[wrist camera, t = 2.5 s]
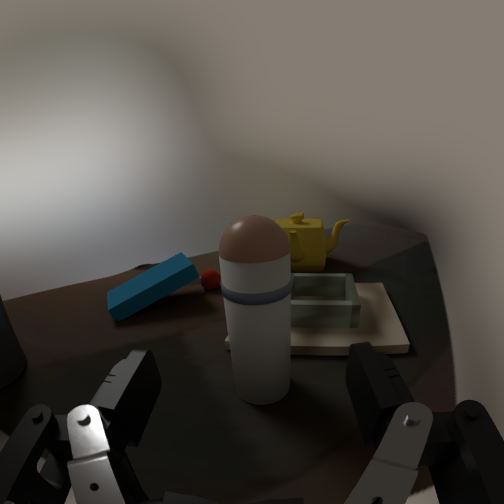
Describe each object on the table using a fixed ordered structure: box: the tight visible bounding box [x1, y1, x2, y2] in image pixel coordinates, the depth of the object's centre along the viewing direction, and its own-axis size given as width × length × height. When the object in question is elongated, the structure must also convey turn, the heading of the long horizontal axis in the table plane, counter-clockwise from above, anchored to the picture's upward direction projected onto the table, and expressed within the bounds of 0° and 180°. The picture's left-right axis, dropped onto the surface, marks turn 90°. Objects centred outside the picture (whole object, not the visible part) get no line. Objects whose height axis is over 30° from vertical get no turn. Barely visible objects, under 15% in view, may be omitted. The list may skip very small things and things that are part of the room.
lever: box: [107, 253, 220, 321], centre depth 42 cm, size 7×7×18 cm
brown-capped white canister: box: [219, 215, 292, 405], centre depth 21 cm, size 5×5×16 cm
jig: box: [225, 273, 410, 355], centre depth 34 cm, size 20×16×4 cm
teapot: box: [274, 211, 349, 272], centre depth 53 cm, size 15×14×10 cm
